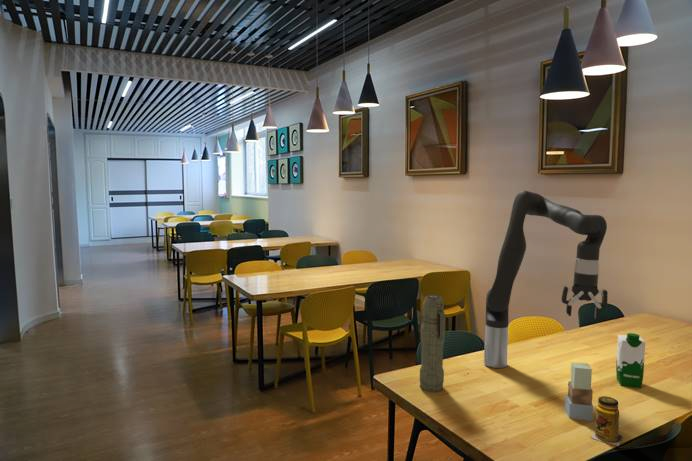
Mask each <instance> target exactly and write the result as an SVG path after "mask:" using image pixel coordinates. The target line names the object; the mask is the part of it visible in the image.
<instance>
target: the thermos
mask: <svg viewBox="0 0 692 461" xmlns="http://www.w3.org/2000/svg"><path fill="white" fill-rule="evenodd" d="M444 307H445V306H444V300H443V297H441V296H440V295H437V294H428V295H425V297H424V299H423V303H422V307H421V314H420V320H421V322H420V343H421V364H420V365H421V366H420V367H419V388H420V389H421V390H422V391H424V392H428V393H439V392H442V391H443V390H444V381H445V380H444V378H445V371H444V368H443V364H444V363H443V362H444V360H443V359H444V345H445V340H446V338H445V337H446V333H445V332H446V317H447V316H446V312H445V311H444V309H445V308H444Z"/></svg>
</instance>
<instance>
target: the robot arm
mask: <svg viewBox="0 0 692 461" xmlns="http://www.w3.org/2000/svg"><path fill="white" fill-rule="evenodd" d="M527 215H529V216H536V217H542V218H543V217H544V218H547V219H550V220H551V221H553V222H555V223H556V224H558V225H561V226H563V227H565V228H568V229H569V230H571V231H573V233H576V234H577V235H578V234H579V235H581V236H586V238H585V240H583V241H580V242H578V244H577V246H576V257H575V263H574V269H573V271H574V272H573V284H572V286H571V287H570V286H567V285H563V287H562V292H561V293H562V294H561V300H560V301H561V302H562V303H563V304H565V305H566V307H565V308H566V310H565V311H566V312H565V313H566V314H567V315H568V317H571V316H572V310H573V309H572V308H573V307H572V306H573V304H574V303H575V302H577V301H578V300H579V301H587V302H590V301H592V303H594V305H595V307H594V317H593V318H594V319H595V320H597V319H599V318H600V317H601V310H602V309H603V308H607V307H608V290H607V289H605V288H603V289H599V288H598V284H599V283H598V282H599V273H600V272H599V271H600V249H601V246H602V244H603V241H604V238H605V235H606V233H607V230H608V228H607V227H608V223H607V220H606V219H605V217H604V216H602V215H600V214H599V215H598V214H583V213H582V212H581V211H579V210H578V209H576V208H573V207H569V206H567V205H563V204H558V203H555V202H553V201H551V200H549V199H548V198H546V197H545V196H543V195H541V194H539V193H537V192H532V191H529V190H521V191H519V192H517V194H516V195H515V197H514V200H513V203H512V207H511V213H510V218H509V223H508V227H507V230H506V233H505V237H504V240H503V243H502V246H501V249H500V253H499V256H498V259H497V260H498V261H497V267H496V268H497V269H496V275H495V278H494V281H493V283H492V287H491V288H490V289H489V290H488V291H487V293H486V298H485V300H486V301H485V330H484V331H485V332H484V335H485V336H484V349H483V350H484V351H483V356H484V357H483V363H484V366H487V367H489V368H493V369H503V368H504V369H505V368H507V366H508V345H509V344H508V342H509V340H508V339H509V307H510V306H509V305H510V301H511V295H512V290H513V286H514V283H515V280H516V277H517V275H518V274H519V271H520V268H521V265H522V262H523V260H524V257H525V255H526V254H525V253H526V251H527V242H526V240H527V239H526V236H525V232H524V223H525V219H526V216H527ZM570 292H572V293H573V294H572V296H570V298H569V299H568V298H567V297H568V294H570ZM598 294H599V295H600V296H601V303H599V301H598V299H597V298H596V297H597V295H598ZM567 299H568V300H567Z"/></svg>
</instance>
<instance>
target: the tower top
mask: <svg viewBox="0 0 692 461" xmlns="http://www.w3.org/2000/svg"><path fill="white" fill-rule="evenodd" d="M593 392H594V391H593V389H592V388H591V390H585V389H576V388H574V387H573V386H572V384H571V380H570V381H568V387H567V395H568V397H569V399H570V401H571V403H574V404H583V405H593Z"/></svg>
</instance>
